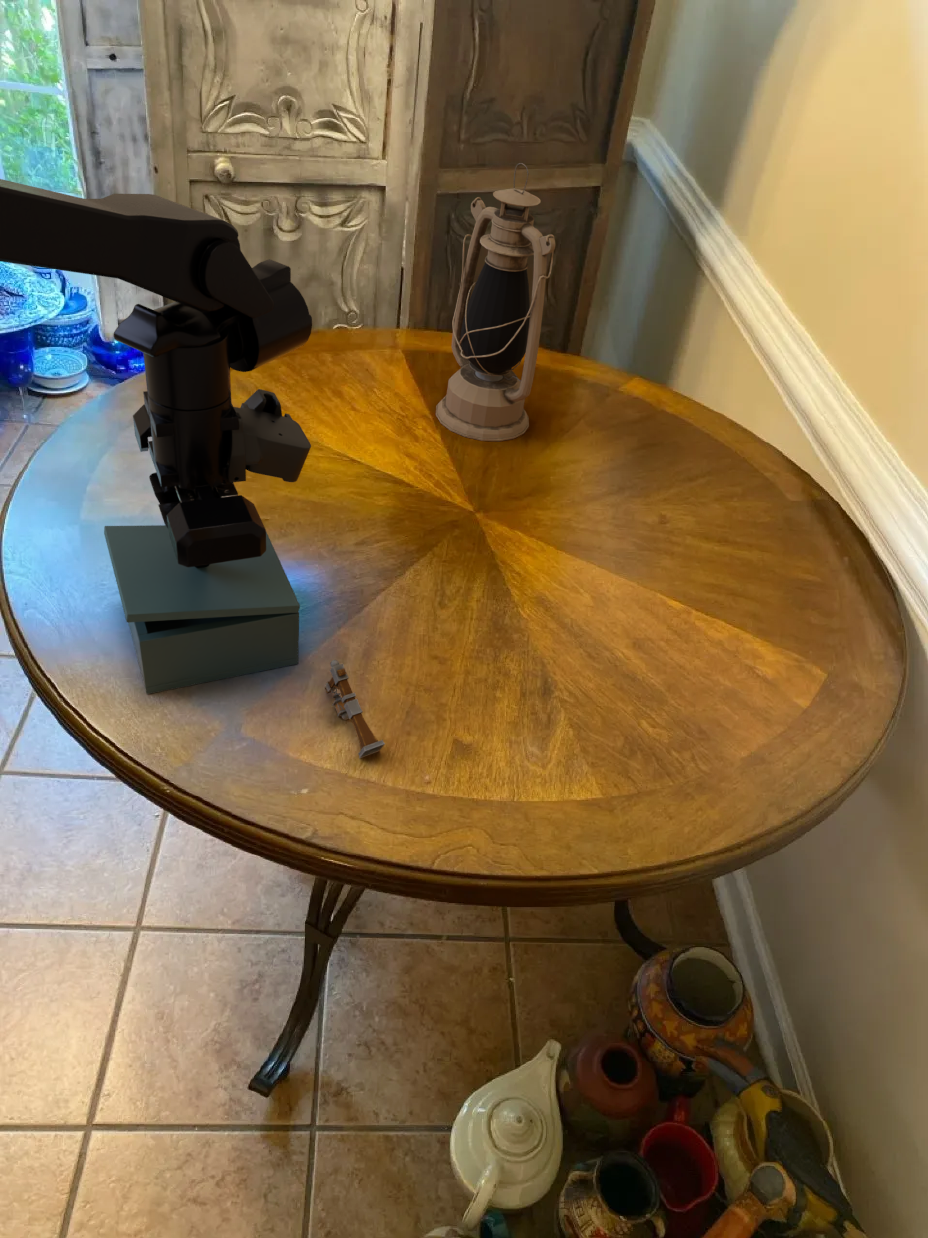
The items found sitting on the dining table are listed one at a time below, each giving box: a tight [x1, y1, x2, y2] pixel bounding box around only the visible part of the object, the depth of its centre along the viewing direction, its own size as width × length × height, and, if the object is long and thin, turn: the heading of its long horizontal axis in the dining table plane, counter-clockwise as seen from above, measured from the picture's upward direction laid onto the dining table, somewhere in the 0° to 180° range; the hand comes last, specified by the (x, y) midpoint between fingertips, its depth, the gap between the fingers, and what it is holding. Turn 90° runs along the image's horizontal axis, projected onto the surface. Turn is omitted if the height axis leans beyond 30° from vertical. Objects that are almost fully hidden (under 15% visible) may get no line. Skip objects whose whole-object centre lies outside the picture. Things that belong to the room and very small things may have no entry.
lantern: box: [435, 162, 556, 442], centre depth 106 cm, size 15×12×30 cm
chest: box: [127, 611, 300, 695], centre depth 78 cm, size 13×12×6 cm
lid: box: [103, 524, 301, 624], centre depth 75 cm, size 13×12×1 cm
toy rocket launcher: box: [324, 659, 386, 759], centre depth 73 cm, size 2×8×4 cm, turn 32°
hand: (201, 564), depth 75 cm, fingers closed, pressing on lid
